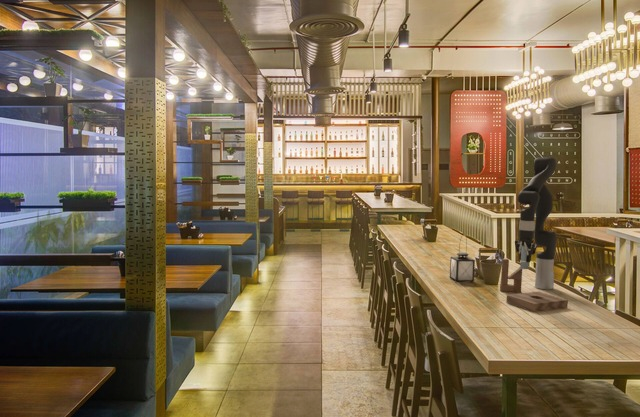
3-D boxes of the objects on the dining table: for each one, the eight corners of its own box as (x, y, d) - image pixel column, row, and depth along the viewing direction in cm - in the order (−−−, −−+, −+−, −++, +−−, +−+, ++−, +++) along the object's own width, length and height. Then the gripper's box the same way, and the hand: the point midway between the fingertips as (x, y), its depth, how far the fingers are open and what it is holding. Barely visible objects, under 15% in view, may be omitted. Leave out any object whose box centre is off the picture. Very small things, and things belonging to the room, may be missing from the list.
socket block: (538, 298, 264) (539, 291, 263) (567, 307, 247) (568, 299, 247) (506, 302, 255) (506, 294, 255) (534, 312, 239) (534, 303, 238)
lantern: (466, 277, 313) (468, 233, 311) (474, 281, 302) (476, 235, 300) (449, 277, 312) (451, 233, 310) (456, 281, 301) (458, 235, 299)
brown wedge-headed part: (521, 292, 277) (522, 260, 275) (500, 291, 279) (502, 259, 277) (519, 291, 280) (521, 259, 279) (499, 289, 282) (501, 258, 281)
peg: (524, 267, 267) (525, 245, 266) (530, 268, 263) (531, 246, 262) (518, 267, 265) (519, 245, 264) (524, 269, 262) (525, 246, 261)
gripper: (542, 230, 258) (540, 263, 259) (521, 227, 271) (520, 258, 272) (531, 230, 255) (529, 264, 256) (511, 227, 268) (509, 259, 269)
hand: (524, 261), depth 264 cm, fingers closed on peg, 4 cm apart
